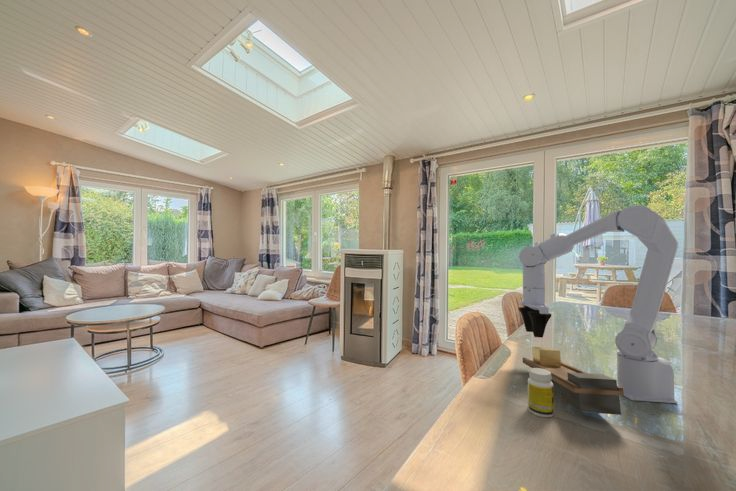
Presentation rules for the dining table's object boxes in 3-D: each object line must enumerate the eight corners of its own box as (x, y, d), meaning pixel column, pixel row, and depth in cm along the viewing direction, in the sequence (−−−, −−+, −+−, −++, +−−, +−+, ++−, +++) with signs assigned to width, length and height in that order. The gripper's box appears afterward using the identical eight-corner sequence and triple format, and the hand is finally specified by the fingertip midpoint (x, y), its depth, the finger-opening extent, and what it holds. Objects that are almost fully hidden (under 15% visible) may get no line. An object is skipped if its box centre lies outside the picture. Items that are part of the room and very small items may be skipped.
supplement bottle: (557, 419, 60) (557, 376, 60) (532, 416, 61) (531, 374, 61) (548, 407, 65) (548, 367, 65) (524, 405, 66) (524, 366, 66)
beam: (556, 377, 84) (554, 353, 85) (626, 415, 57) (622, 380, 58) (523, 375, 85) (522, 352, 86) (576, 411, 58) (573, 377, 59)
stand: (584, 387, 75) (584, 371, 75) (605, 403, 67) (605, 385, 67) (526, 384, 77) (526, 368, 77) (540, 399, 69) (540, 381, 69)
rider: (552, 362, 83) (551, 347, 83) (561, 367, 78) (559, 350, 78) (532, 361, 83) (531, 346, 84) (540, 365, 78) (539, 349, 79)
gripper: (511, 284, 97) (511, 327, 96) (528, 290, 82) (529, 340, 82) (534, 285, 96) (535, 328, 95) (556, 290, 81) (557, 341, 81)
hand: (534, 334), depth 89 cm, fingers open, 5 cm apart
